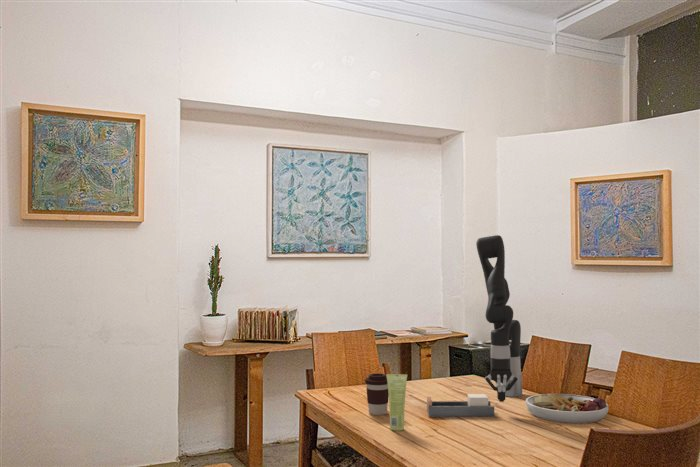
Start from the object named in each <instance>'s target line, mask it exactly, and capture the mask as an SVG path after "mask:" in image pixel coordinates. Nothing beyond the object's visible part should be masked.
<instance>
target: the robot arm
mask: <svg viewBox="0 0 700 467" xmlns="http://www.w3.org/2000/svg"><path fill="white" fill-rule="evenodd" d="M475 245H476V250H477V254H478V258H479V262H480V264H481V268H482V271H483V277H484V282H485V288H486V292H487V296H488V300H487V306H486V309H485V318H486V319H485V320H486V321H487V322H488V323H489V324H493V329H492V330H491V332H490V370H489V374H488V375H486V376H485V377H484V380H485V381H486V383H487V384H488V385H489V386H490V387H491V389H493V391H495V392H496V393H497V395H496V396H497V397H496V398H497V401H499V402H500V403H502V402H503V403H504V402H505V400H506V397H510V398H512V397H514V398H515V397H523V374H522V372H521V368H522V367H521V336H522V335H521V334H522V332H521V331H522V328H521V323H520V321H519V320H517V319H513V318H514V309H513V308H512V307H511V305H508V302H509V300H510V299H509V298H510V293H511V292H510V290H509V284H508V283H509V282H508V281H507V279H506V278H505V267H506V265H505V263H506V258H505V256H506V254H505V252H506V251H505V243H504V241H503V237H502V236H501V235H497V234H496V235H490V236H489V235H488V236H484V237H479V238H477V239H476V244H475ZM495 258H496V262H495V264H494V266H493V265H492V263H491V262H490V260H489V259H495ZM492 380H493V381H494V382H495V384H494V383H493V382H492ZM495 385H496V386H495Z"/></svg>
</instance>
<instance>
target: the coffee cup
mask: <svg viewBox="0 0 700 467" xmlns="http://www.w3.org/2000/svg"><path fill="white" fill-rule="evenodd" d="M364 383H365V384H366V399H367V405H368V413H369V414H370V415H374V416H383V415H386V414H387V413H388V405H389V393H388V383H387V377H386V374H385V373H379V372H378V373H370V374H368V376H367V377H366V378H364Z"/></svg>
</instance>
